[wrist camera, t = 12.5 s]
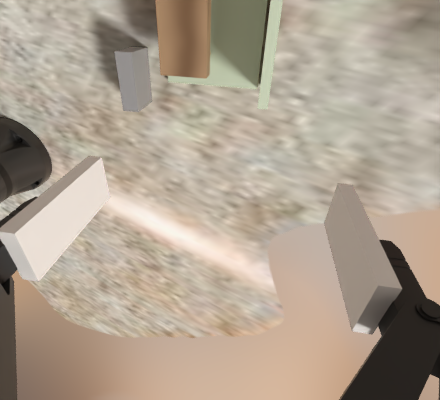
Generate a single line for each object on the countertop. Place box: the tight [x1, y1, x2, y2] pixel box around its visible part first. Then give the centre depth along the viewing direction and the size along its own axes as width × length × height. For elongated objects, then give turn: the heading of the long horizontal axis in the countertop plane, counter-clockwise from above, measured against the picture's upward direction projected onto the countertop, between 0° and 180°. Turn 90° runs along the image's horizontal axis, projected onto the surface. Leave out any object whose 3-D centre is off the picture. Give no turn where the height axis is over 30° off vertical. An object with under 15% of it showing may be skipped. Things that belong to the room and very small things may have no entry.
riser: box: [114, 47, 152, 112], centre depth 42 cm, size 2×8×6 cm, turn 177°
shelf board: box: [155, 0, 211, 79], centre depth 33 cm, size 6×12×2 cm, turn 177°
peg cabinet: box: [168, 0, 283, 109], centre depth 34 cm, size 16×17×11 cm
